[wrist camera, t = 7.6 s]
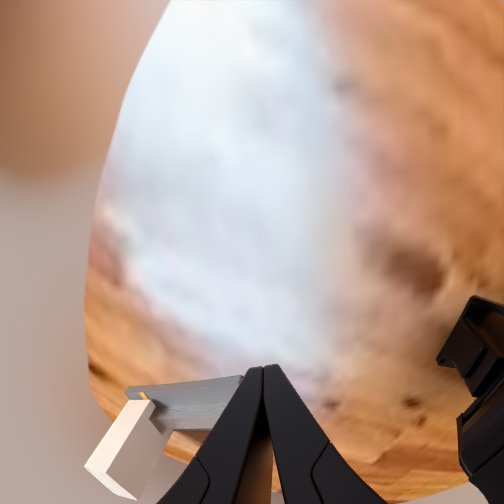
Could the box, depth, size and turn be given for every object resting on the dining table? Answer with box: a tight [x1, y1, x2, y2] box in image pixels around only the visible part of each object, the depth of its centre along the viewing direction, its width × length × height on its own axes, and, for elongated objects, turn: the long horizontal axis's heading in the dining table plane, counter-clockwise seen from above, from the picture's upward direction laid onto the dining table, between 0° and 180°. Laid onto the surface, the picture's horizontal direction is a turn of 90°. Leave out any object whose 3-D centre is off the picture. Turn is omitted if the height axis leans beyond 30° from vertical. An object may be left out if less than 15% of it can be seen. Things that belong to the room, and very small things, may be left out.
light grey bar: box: [149, 403, 228, 430], centre depth 24 cm, size 12×2×2 cm, turn 111°
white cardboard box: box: [84, 400, 174, 500], centre depth 22 cm, size 3×5×10 cm, turn 21°
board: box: [125, 375, 242, 431], centre depth 26 cm, size 13×6×1 cm, turn 111°
